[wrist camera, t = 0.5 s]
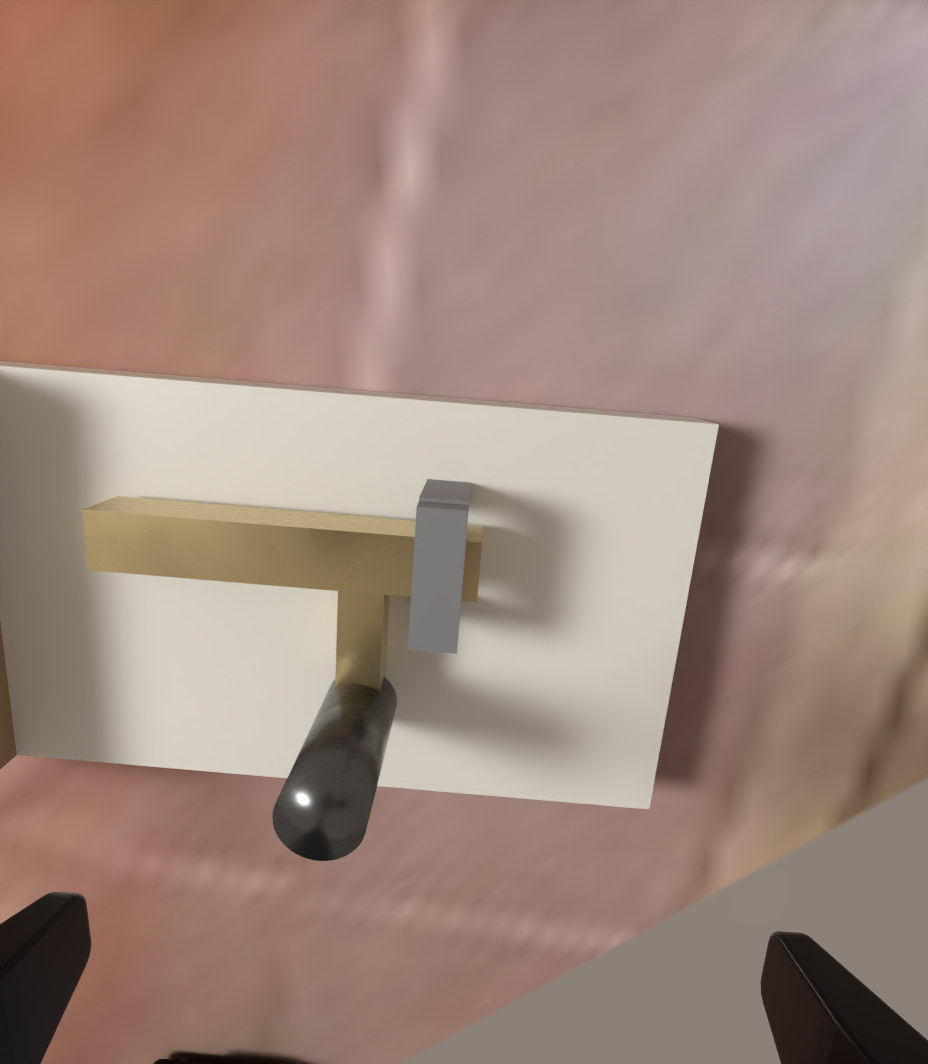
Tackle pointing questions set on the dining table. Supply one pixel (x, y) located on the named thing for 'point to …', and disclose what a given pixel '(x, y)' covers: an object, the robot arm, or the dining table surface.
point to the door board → (311, 614)
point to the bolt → (302, 562)
